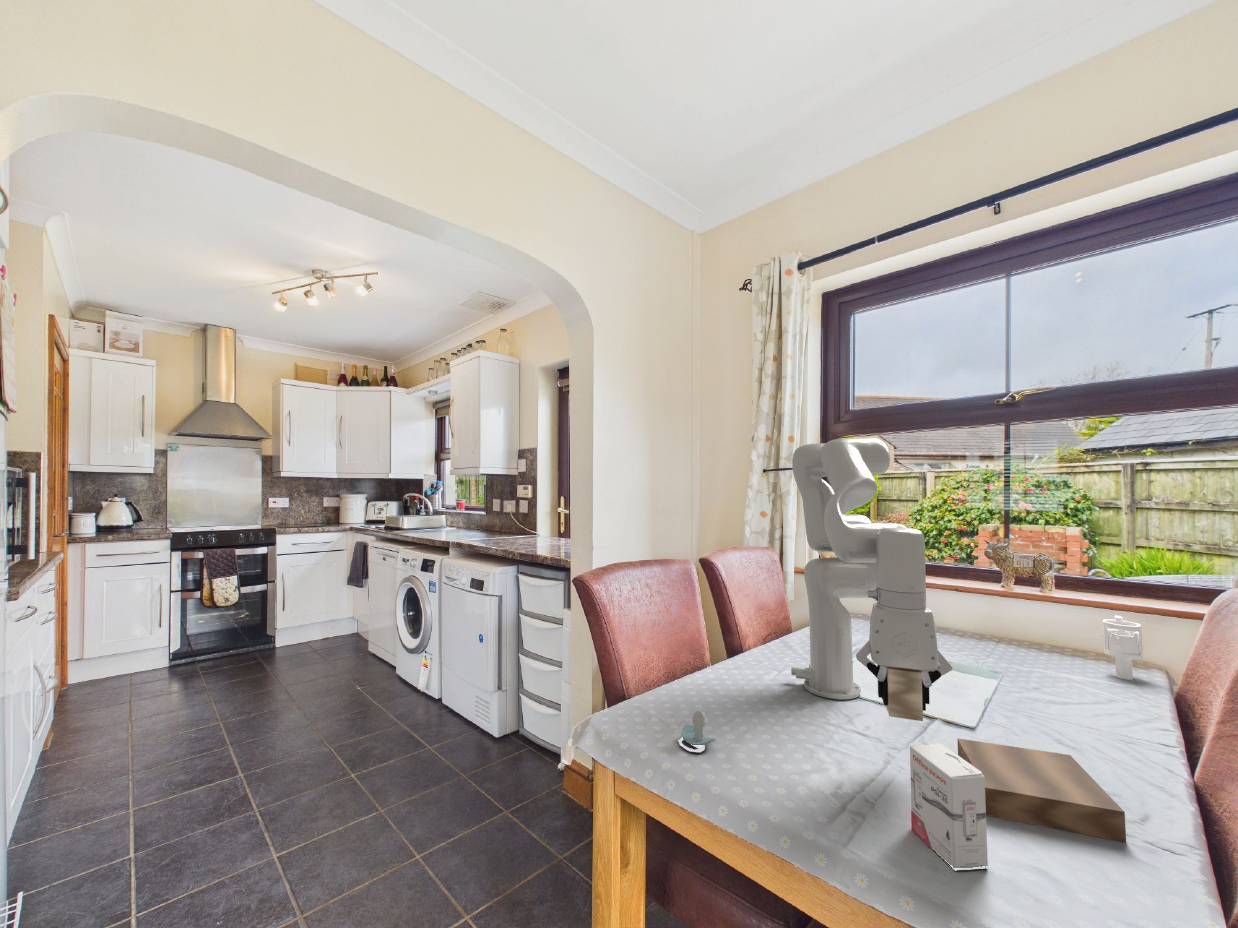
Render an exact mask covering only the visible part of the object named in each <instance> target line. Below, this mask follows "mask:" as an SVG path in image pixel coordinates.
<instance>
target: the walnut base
mask: <svg viewBox="0 0 1238 928" xmlns="http://www.w3.org/2000/svg"><path fill="white" fill-rule="evenodd" d="M956 740H957V755H958V756H960V757H961V758H962V759H964V760H965V761H967V762H968V763H970V764H971V765H973V766H974V767H975V768H977V769H978V770H980V771H981V772H982V774H983V775H984V780H985V804H986V817H987V816H988V817H994V818H997V819H998V818H999V819H1004V820H1008V821H1009V820H1010V821H1015V822H1020V823H1024V824H1025V823H1026V824H1029V825H1033V826H1034V825H1035V826H1041V827H1045V828H1050V829H1056V830H1060V831H1067V832H1072V833H1076V834H1082V835H1087V836H1092V837H1098V838H1102V839H1108V840H1112V839H1113V841H1118V840H1119V841H1120V842H1123V841H1124V843H1127V830H1126V829H1127V828H1126V827H1127V826H1126V813H1125V811H1124V810H1123V808H1122V807H1121V806H1120V805H1119V804H1118V803H1117V802H1116V801H1115V800H1114V799H1113V798H1112V797H1111V796H1110V795H1109V794H1108V792H1107V791H1105V789H1103V788H1102V787H1101V786H1100V785H1099V784H1098V782H1097V781H1096V780H1095V779H1094V778H1093V777H1092V776H1091V775H1090V774H1089V773H1088V772H1087V771H1086V770H1085V769H1084V768H1083V766H1081V765H1080V763H1079V762H1078V761H1077V760H1076V759H1075V758H1074V757H1073V756H1072V755H1071V754H1066V753H1059V752H1053V751H1052V752H1051V751H1046V750H1039V749H1031V748H1024V747H1019V746H1014V745H1013V746H1012V745H1006V744H998V743H991V742H986V741H985V742H984V741H979V740H978V741H977V740H973V739H972V740H971V739H965V738H959V737H957V739H956ZM1119 841H1118V842H1119Z"/></svg>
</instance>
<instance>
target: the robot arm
mask: <svg viewBox="0 0 1238 928" xmlns="http://www.w3.org/2000/svg"><path fill="white" fill-rule="evenodd" d="M791 459H792V460H791V461H792V463H791V465H792V466H791V467H792V474H793V478H794V481H795V483H796V487H797V489H798V491H799V493H800V496H801V499H802V508H803V516H804V526H805V535H806V539H807V540H806V541H807V543H808V546H809V548H810V549H811V550H812V551H815V552H818V553H834V555H835V556H836V557H817V558H814V559H811V560H809V561H808V562H807V563H806V564H805V566H804V570H803V577H804V583H805V589H806V595H807V602H808V616H809V617H808V620H809V621H808V622H809V625H808V627H809V628H808V629H809V657H810V658H809V662H810V664H808V667H806V666H805V667H804V668H800V667H796V666H794V667H793V666H791V668H790V669H791V676H795V678H796V679H800V680H802V679H803V685H804V689H805V690H806V691H807V692H809V693H811V694H813V695H816V696H819V697H821V698H825V699H832V700H845V701H846V700H853V699H856V698H858V697H860V696H861V694H860V693H862V691H861V690H862V689H861V687H860V685H858V684H857V683H856V682H854V665H853V664H854V663H853V662H854V661H853V658H854V657H853V626H852V624H853V623H852V617H851V613H850V612H849V610H848V609H847V608H846V607H845V605H844V604H843V603H842V602H841V600H840V599H846V598H847V599H848V598H852V599H854V598H856V599H858V598H859V599H860V598H862V599H873V600H875V601H876V602H874V603H873V604H872V609H871V614H870V621H869V639H868V640H867V642H866V643H865V644H864V645H863V646H862V647H861V648H860V649H859V650H858V651H857V652H856V654H855V657H856V660H857V661H858V662H859V663H861V664H862V665H863V666H864V667H866V668H867V670H868V671H869V672H871V674H873V675H874V677H875V678H876V679H877V697H878V698H880V699H881V700H882V703H883V706H886V705H888V683H887V680H886V674H887V667H892V668H900V669H909V670H918V671H921V672H922V706H923V711H925V712H926V711H927V705H930V702H931V701H930V688H931V687H932V685H933V684H934V683H935V682H936V681H938V680H939V679H940V678H941V677H942V676H945V675H946V674H948V673H949V672H952V670H953V666H952V665H951V663H950V662H949V661H948V660H947V659H946V658H945V657H944V655H943V654H942V653H941V652H940V651H939V650H938V649H939V647H938V638H937V630H936V623H935V618H934V617H935V616H934V614H933V611H932V609H931V608H929V607H927V590H926V589H927V581H926V578H927V577H926V542H925V536H924V534H923V532H922V531H920V530H918V529H915V528H911V527H907V526H905V525H904V524H901V523H894V522H893V523H892V522H884V523H883V522H882V523H881V522H880V523H878V522H872V520H871V519H870V518H868V517H867V516H865V515H863V514H855V513H852V514H851V513H850V514H849V513H848V512H852V511H853V510H856V509H858V508H861V507H863V506H864V505H867V503H868V504H869V502H871V501H872V500H873V498H874V497H875V496H876V495H877V492H878V484H877V481H876V480H875V478H874V476H876V477H877V476H881V475H883V474H884V473H886V472H887V471H888V469H889V467H890V465H891V454H890V451H889V448H888V446H887V445H886V444H885V443H884V441H882V440H880V439H878V438H873V437H872V438H871V437H870V438H869V437H867V438H866V437H863V438H862V437H861V438H859V437H858V438H855V437H853V438H851V437H850V438H836V439H835V438H834V439H832V440H829V441H827V442H826V443H825V442H824V443H823V442H820V443H818V442H817V443H809V444H803V445H801V446H798V447H797V448H796V449H795V450H794V452H793V453H792V458H791ZM825 477H827V480H828V482H829V483H828V482H827V481H825V480H824V479H823V478H825ZM869 655H870V657H871V660H870V658H868V656H869ZM859 695H860V696H859Z"/></svg>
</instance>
